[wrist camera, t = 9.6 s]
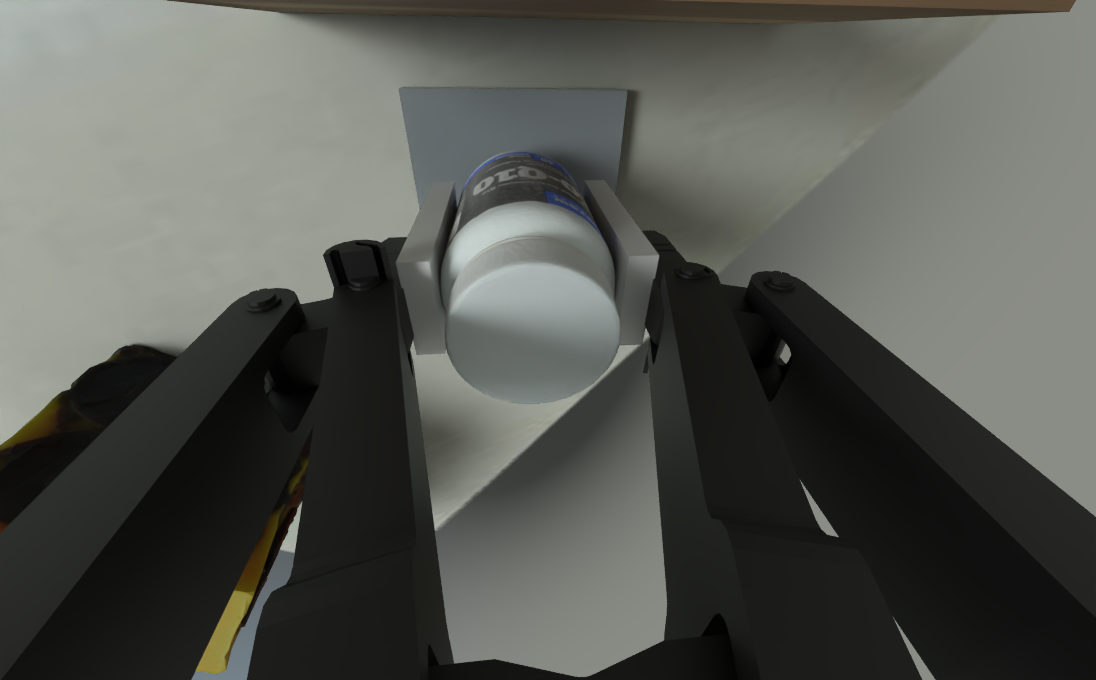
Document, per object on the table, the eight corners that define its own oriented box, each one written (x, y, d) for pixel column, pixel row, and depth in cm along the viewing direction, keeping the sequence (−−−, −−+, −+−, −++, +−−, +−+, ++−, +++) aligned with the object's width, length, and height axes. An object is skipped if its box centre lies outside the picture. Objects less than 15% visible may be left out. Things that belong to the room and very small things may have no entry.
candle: (345, 398, 23) (263, 590, 15) (308, 494, 28) (231, 677, 20) (120, 334, 19) (-147, 545, 11) (123, 458, 24) (-63, 666, 16)
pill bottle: (593, 157, 15) (671, 258, 8) (568, 273, 17) (612, 421, 11) (460, 137, 14) (423, 230, 7) (456, 262, 17) (427, 414, 10)
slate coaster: (402, 87, 14) (398, 89, 14) (623, 89, 15) (627, 90, 15) (436, 286, 19) (434, 292, 19) (602, 280, 20) (605, 286, 19)
